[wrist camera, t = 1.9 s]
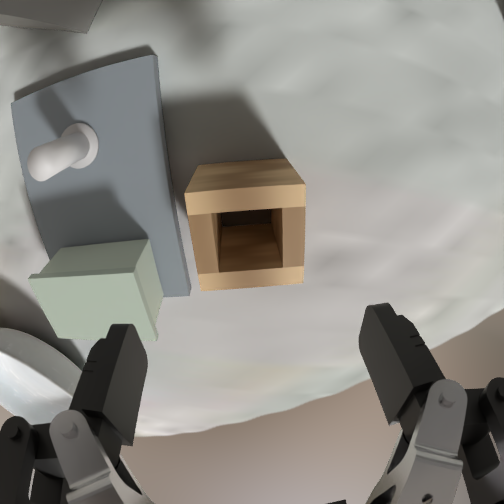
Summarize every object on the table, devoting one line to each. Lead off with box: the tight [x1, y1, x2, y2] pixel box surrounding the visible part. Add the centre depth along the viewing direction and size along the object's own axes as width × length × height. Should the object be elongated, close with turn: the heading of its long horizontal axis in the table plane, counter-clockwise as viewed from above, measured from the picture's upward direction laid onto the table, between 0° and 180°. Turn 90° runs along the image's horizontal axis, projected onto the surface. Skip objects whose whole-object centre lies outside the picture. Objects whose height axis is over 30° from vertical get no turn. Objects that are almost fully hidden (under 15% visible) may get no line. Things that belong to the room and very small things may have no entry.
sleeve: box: [184, 159, 306, 291], centre depth 18 cm, size 6×6×6 cm
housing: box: [28, 239, 164, 341], centre depth 20 cm, size 9×6×5 cm, turn 93°
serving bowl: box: [0, 328, 82, 425], centre depth 27 cm, size 21×21×7 cm
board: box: [11, 55, 191, 297], centre depth 17 cm, size 12×18×6 cm, turn 3°
